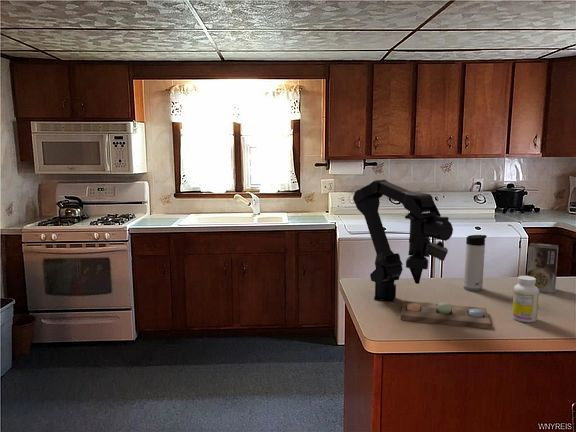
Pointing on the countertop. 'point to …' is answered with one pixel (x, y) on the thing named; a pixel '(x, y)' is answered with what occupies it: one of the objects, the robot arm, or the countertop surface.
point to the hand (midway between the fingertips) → (417, 283)
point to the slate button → (475, 313)
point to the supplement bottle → (525, 299)
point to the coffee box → (543, 265)
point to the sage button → (444, 308)
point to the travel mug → (474, 262)
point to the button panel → (445, 315)
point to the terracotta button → (413, 307)
